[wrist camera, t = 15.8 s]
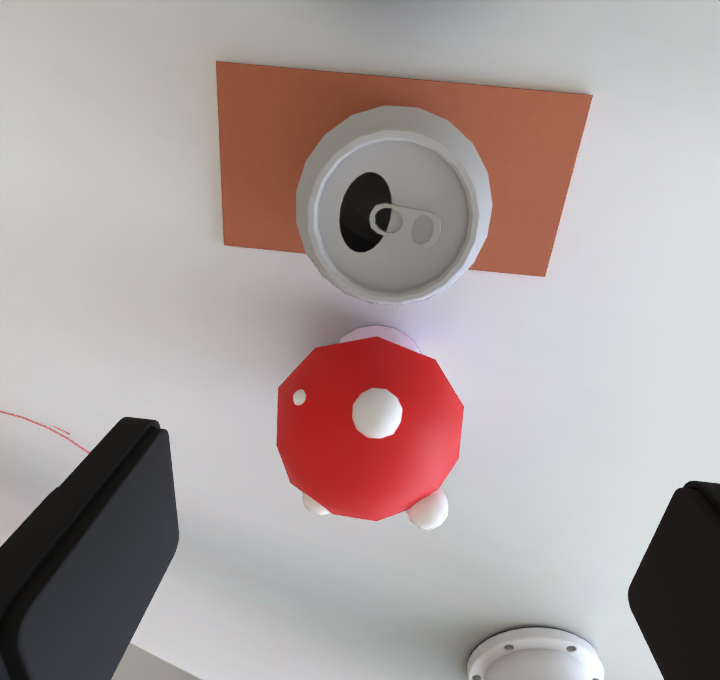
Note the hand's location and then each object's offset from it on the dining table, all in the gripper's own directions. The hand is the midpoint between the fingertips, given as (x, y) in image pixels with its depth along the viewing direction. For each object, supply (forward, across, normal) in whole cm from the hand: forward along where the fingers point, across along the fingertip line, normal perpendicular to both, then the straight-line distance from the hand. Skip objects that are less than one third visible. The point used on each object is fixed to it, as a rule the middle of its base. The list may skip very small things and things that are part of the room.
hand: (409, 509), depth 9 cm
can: (+22, +1, -3) cm, 23 cm away
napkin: (+22, +1, -4) cm, 23 cm away
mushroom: (+23, +1, +9) cm, 25 cm away
